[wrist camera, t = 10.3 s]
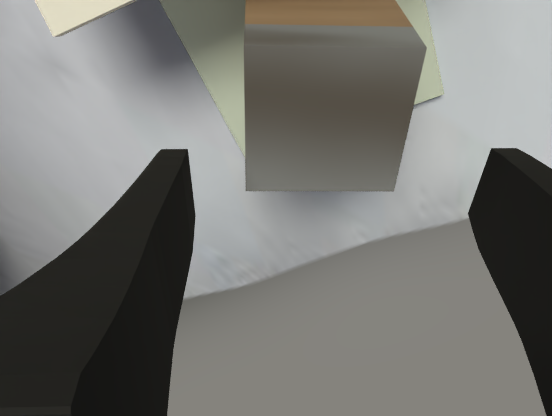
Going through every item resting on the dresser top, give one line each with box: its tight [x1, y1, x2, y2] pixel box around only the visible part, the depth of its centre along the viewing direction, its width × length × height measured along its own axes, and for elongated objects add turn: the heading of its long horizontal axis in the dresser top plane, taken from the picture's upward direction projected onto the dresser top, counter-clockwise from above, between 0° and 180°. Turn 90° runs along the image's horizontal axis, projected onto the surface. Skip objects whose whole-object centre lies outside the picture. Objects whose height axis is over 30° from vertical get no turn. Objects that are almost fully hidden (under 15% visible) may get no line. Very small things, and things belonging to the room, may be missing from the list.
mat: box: [159, 0, 444, 156], centre depth 19 cm, size 9×9×1 cm
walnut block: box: [244, 0, 427, 191], centre depth 16 cm, size 4×4×7 cm
